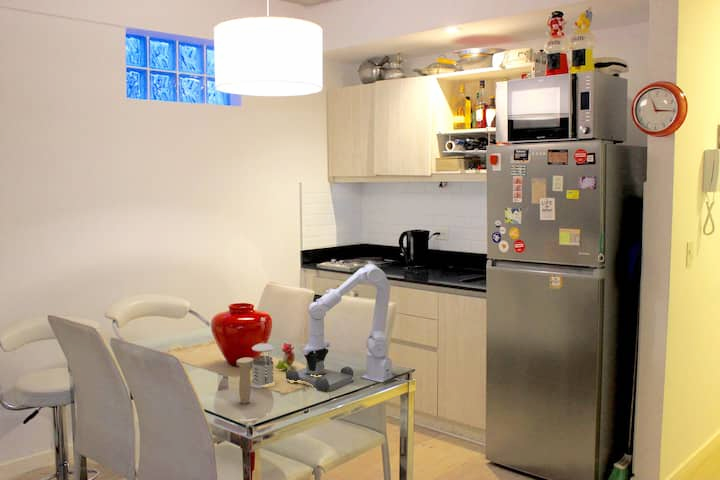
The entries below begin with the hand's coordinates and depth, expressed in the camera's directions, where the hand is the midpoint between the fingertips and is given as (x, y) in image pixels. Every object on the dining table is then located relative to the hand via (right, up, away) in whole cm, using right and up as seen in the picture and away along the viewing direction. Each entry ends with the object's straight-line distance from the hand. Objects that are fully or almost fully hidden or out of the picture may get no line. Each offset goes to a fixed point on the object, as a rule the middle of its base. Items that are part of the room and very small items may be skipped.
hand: (315, 369), depth 268 cm
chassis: (+2, -5, -1) cm, 5 cm away
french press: (-19, -5, -6) cm, 21 cm away
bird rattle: (-12, -3, +13) cm, 18 cm away
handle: (-23, -7, -25) cm, 35 cm away
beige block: (0, -2, 0) cm, 2 cm away
